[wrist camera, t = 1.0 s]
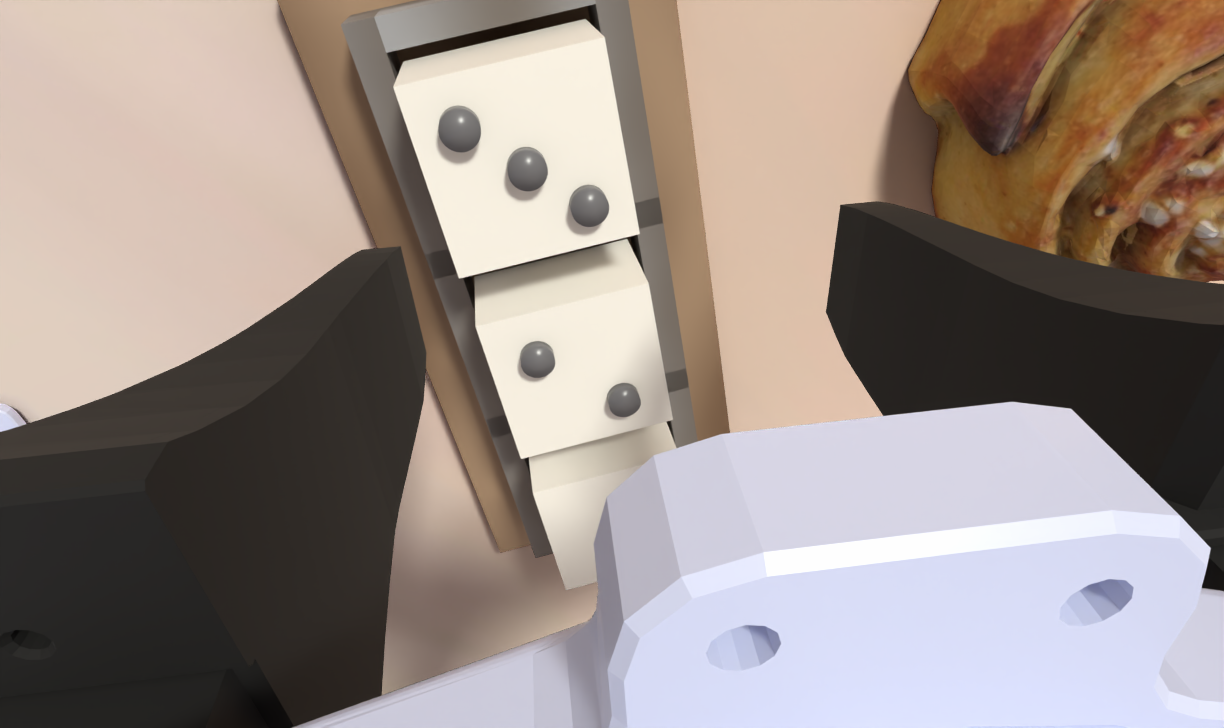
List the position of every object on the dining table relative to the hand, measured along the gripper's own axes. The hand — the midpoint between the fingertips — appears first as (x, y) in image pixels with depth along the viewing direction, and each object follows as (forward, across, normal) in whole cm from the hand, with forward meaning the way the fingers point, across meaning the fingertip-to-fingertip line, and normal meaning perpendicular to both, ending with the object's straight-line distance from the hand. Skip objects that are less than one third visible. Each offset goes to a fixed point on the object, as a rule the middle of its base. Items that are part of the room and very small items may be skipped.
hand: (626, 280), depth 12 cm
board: (+11, +1, +6) cm, 13 cm away
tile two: (+9, +1, +6) cm, 11 cm away
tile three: (+9, +2, 0) cm, 9 cm away
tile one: (+8, 0, +12) cm, 15 cm away
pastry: (+13, -17, +1) cm, 22 cm away
